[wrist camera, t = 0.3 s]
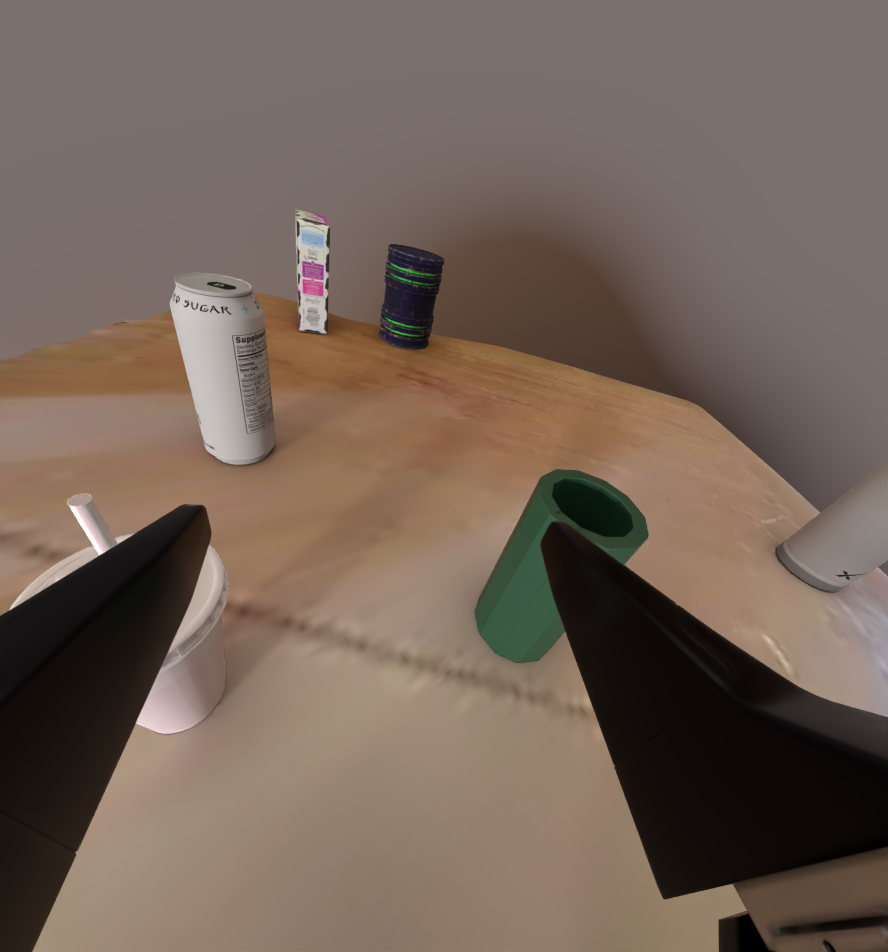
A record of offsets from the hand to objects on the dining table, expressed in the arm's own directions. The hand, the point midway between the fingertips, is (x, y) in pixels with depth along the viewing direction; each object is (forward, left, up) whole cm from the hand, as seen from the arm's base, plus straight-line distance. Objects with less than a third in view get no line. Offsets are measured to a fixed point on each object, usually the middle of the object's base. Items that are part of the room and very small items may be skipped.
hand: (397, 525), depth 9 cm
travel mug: (+9, -50, -17) cm, 53 cm away
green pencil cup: (+5, -12, -17) cm, 21 cm away
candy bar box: (+65, +8, -17) cm, 67 cm away
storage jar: (+64, -9, -17) cm, 66 cm away
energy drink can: (+25, +11, -17) cm, 32 cm away
